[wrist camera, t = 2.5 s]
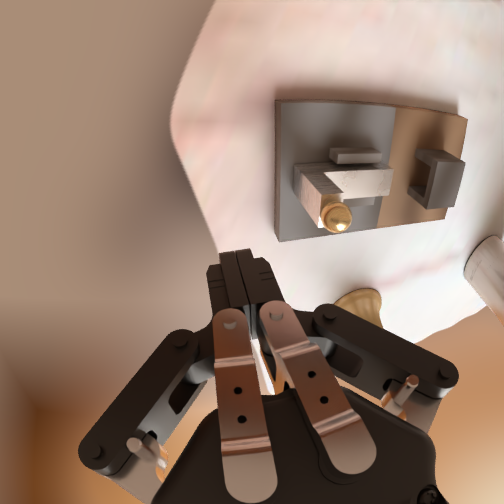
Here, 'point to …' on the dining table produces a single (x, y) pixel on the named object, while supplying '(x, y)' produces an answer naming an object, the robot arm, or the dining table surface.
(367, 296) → the hand bell
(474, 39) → the dining table surface
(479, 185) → the dining table surface
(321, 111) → the lock plate
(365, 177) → the bolt
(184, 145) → the dining table surface
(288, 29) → the dining table surface
